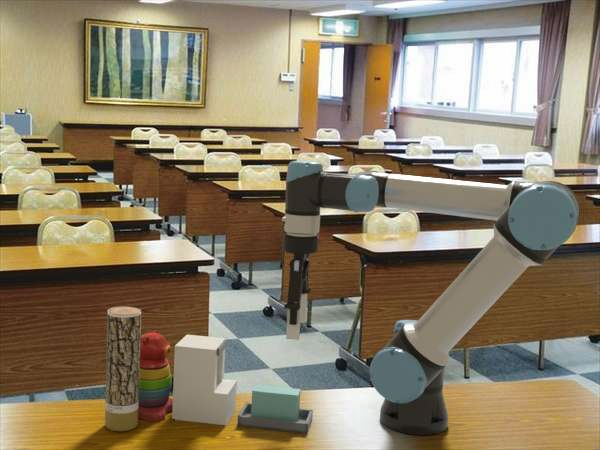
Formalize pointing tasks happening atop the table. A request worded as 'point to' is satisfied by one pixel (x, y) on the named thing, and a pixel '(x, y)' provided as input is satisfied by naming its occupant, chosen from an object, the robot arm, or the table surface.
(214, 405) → the dispenser
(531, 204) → the robot arm
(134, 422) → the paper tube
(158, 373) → the stacking bear
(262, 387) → the teal block
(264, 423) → the tray
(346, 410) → the table surface
